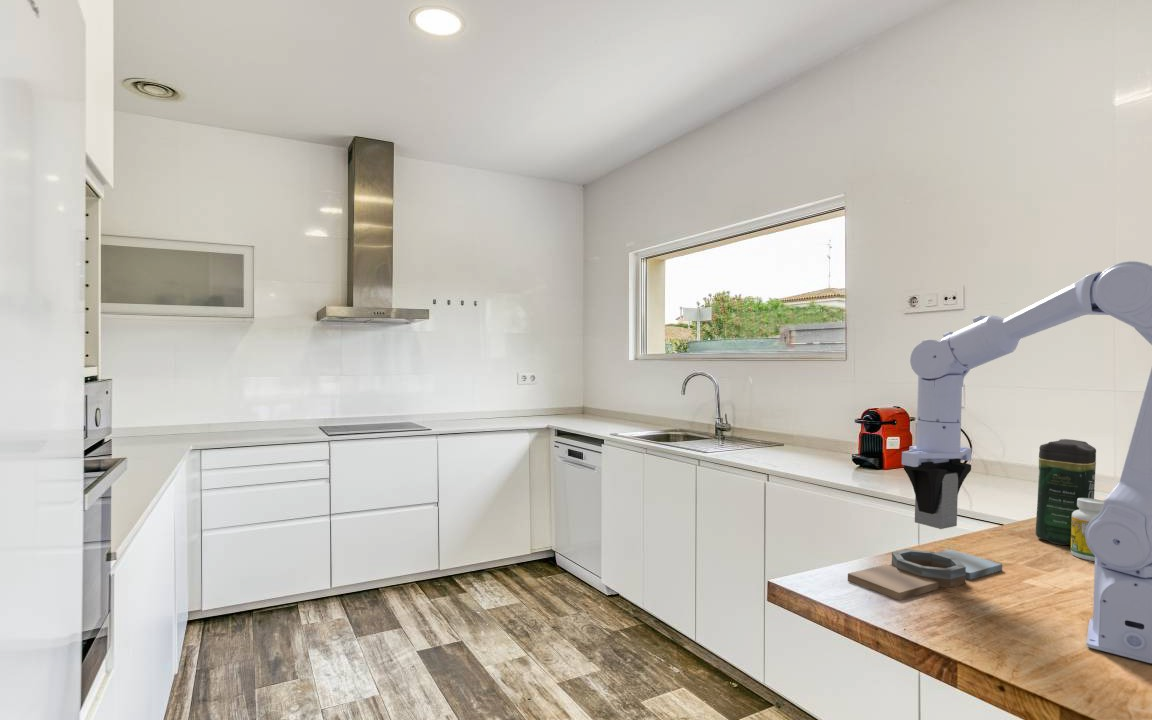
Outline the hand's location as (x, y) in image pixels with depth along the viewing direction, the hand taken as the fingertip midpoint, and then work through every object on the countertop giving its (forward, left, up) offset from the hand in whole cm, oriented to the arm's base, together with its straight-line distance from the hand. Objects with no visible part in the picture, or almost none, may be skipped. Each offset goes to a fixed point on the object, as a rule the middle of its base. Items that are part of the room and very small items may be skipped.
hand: (935, 510), depth 92 cm
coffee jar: (+38, -13, -10) cm, 42 cm away
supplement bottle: (+29, -17, -10) cm, 36 cm away
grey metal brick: (0, 0, -2) cm, 2 cm away
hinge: (-1, +1, -10) cm, 10 cm away
